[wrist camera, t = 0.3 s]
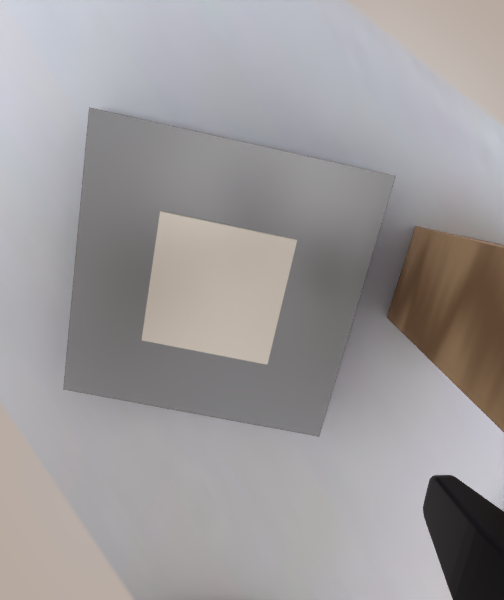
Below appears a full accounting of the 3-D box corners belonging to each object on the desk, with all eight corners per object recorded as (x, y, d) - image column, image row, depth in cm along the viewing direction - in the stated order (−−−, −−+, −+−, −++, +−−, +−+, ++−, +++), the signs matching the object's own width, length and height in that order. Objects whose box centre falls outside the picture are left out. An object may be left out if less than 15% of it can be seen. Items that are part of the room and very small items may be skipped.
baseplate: (315, 421, 24) (320, 439, 22) (75, 376, 23) (60, 392, 21) (385, 176, 20) (397, 175, 18) (101, 113, 19) (86, 106, 17)
